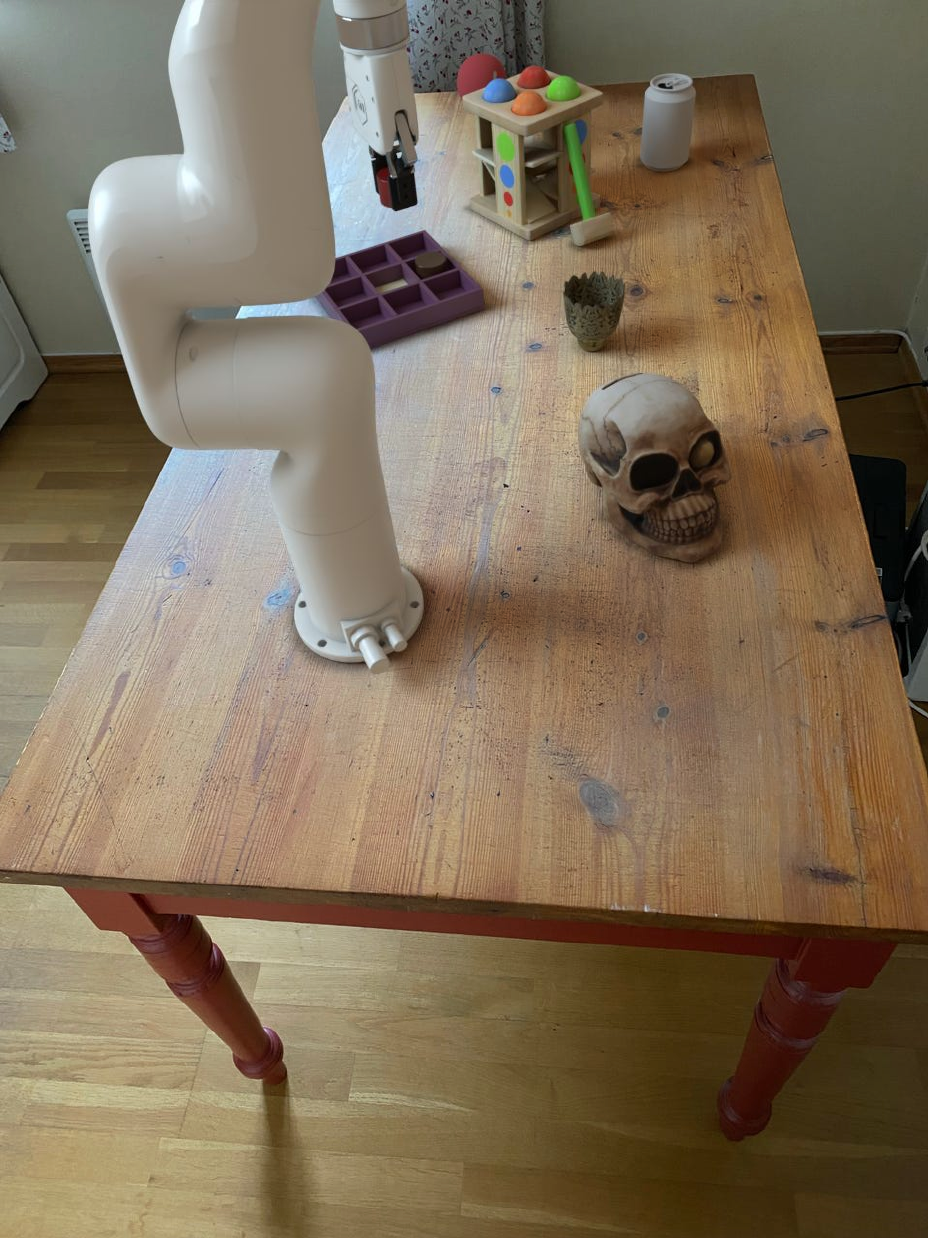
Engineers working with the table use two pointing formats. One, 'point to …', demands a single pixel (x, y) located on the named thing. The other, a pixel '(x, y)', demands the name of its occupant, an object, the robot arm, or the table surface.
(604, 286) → the cup
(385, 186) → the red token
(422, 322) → the board
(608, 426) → the coin bank
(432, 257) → the walnut token
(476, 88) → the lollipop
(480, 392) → the table surface
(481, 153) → the pounding bench toy
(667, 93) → the can
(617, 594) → the table surface
